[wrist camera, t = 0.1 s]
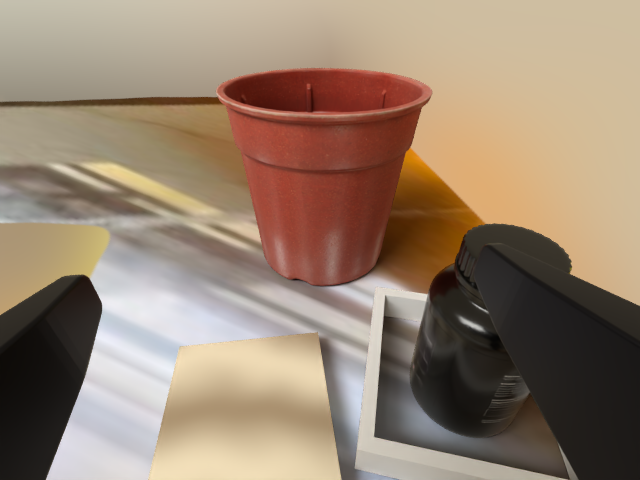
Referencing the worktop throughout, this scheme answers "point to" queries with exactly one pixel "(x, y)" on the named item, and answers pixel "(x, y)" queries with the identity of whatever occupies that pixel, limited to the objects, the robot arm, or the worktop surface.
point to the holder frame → (406, 460)
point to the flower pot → (323, 163)
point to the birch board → (248, 413)
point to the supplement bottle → (472, 341)
